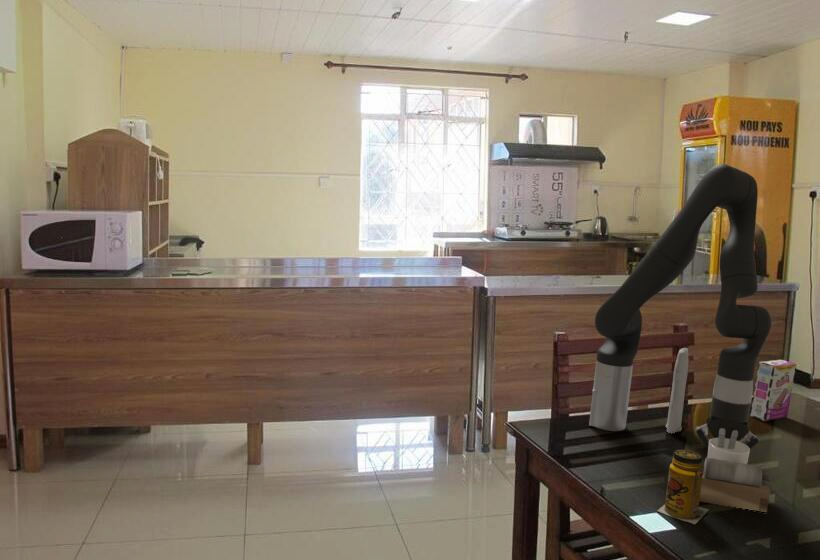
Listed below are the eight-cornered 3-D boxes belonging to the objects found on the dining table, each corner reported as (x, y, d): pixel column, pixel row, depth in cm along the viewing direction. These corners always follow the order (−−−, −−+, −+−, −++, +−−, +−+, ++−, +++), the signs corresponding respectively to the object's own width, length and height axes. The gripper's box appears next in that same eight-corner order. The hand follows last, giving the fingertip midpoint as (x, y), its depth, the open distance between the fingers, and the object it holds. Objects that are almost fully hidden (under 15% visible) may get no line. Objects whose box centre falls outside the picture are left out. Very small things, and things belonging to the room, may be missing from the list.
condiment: (656, 511, 134) (663, 453, 132) (671, 498, 140) (679, 442, 138) (694, 525, 129) (703, 465, 127) (708, 511, 135) (717, 453, 134)
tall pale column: (669, 421, 188) (679, 343, 185) (685, 425, 186) (695, 346, 183) (661, 432, 179) (671, 350, 176) (677, 436, 177) (688, 353, 174)
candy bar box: (765, 422, 194) (774, 366, 192) (749, 416, 198) (757, 361, 196) (788, 417, 200) (797, 363, 197) (772, 412, 204) (780, 358, 202)
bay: (683, 468, 156) (688, 430, 155) (752, 480, 152) (758, 441, 151) (691, 502, 139) (697, 459, 138) (770, 516, 135) (776, 473, 134)
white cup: (741, 485, 148) (748, 441, 146) (744, 501, 141) (751, 456, 139) (702, 477, 151) (708, 434, 149) (703, 493, 144) (709, 448, 142)
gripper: (700, 397, 145) (690, 474, 148) (769, 406, 142) (757, 485, 145) (696, 387, 153) (686, 460, 155) (762, 396, 149) (750, 471, 152)
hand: (720, 472), depth 150 cm, fingers closed
